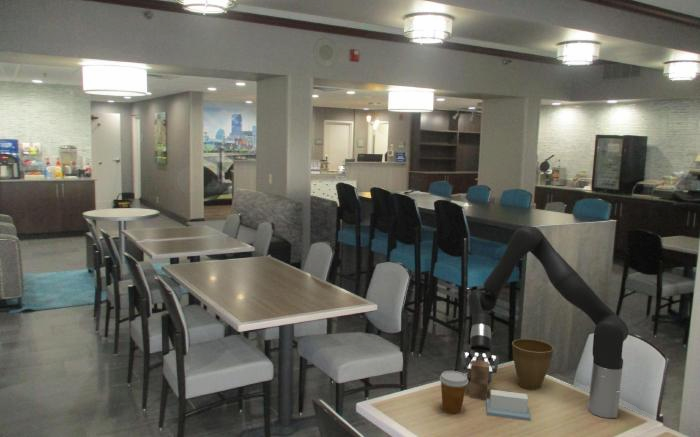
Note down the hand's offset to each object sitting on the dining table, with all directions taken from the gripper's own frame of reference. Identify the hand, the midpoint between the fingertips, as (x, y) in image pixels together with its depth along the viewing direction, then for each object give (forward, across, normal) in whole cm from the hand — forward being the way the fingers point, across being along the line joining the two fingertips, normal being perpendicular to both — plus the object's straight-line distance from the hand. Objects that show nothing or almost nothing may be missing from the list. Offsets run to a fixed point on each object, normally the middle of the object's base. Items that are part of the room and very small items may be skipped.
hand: (479, 381), depth 199 cm
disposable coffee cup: (+13, -9, -4) cm, 16 cm away
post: (+3, 0, +5) cm, 6 cm away
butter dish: (+10, +10, -2) cm, 14 cm away
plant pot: (-7, +19, +16) cm, 26 cm away
